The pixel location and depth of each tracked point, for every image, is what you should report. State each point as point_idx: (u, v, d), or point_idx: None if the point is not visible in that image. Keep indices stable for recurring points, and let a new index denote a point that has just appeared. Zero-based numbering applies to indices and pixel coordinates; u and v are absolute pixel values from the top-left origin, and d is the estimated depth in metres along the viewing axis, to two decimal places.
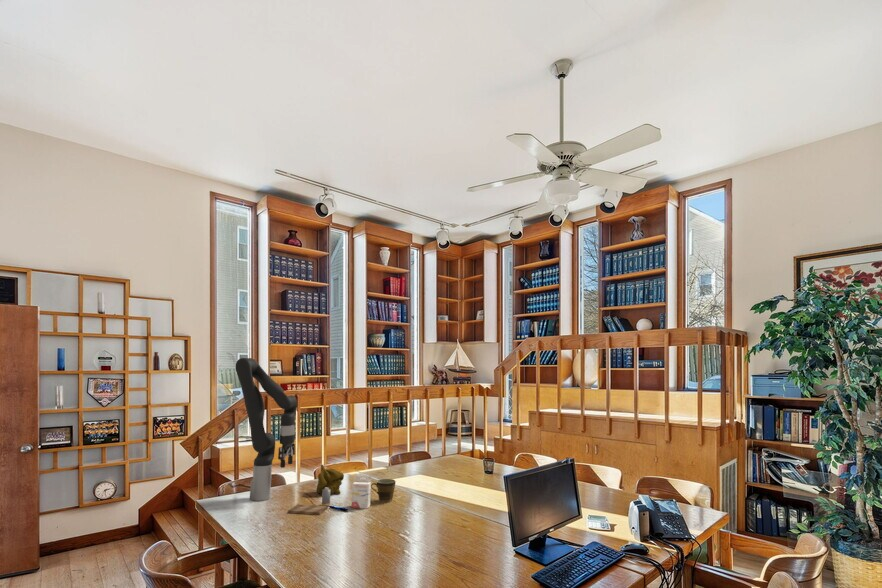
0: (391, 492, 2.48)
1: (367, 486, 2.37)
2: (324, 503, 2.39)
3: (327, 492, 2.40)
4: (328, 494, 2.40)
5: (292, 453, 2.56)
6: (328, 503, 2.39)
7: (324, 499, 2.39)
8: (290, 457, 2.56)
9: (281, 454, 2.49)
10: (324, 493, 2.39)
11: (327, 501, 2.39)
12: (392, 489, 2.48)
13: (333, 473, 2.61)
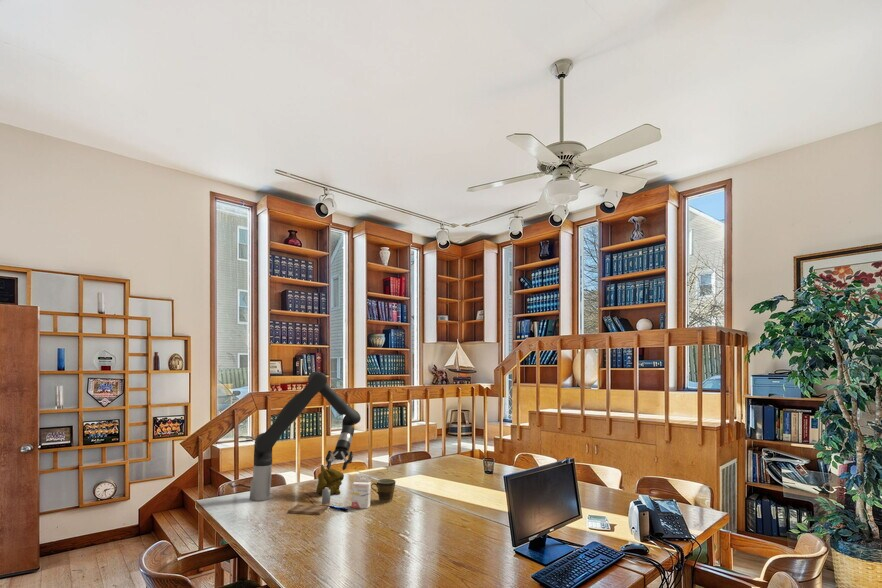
0: (391, 492, 2.48)
1: (367, 486, 2.37)
2: (324, 503, 2.39)
3: (327, 492, 2.40)
4: (328, 494, 2.40)
5: None
6: (328, 503, 2.39)
7: (324, 499, 2.39)
8: (330, 463, 2.57)
9: (345, 457, 2.57)
10: (324, 493, 2.39)
11: (327, 501, 2.39)
12: (392, 489, 2.48)
13: (333, 473, 2.61)
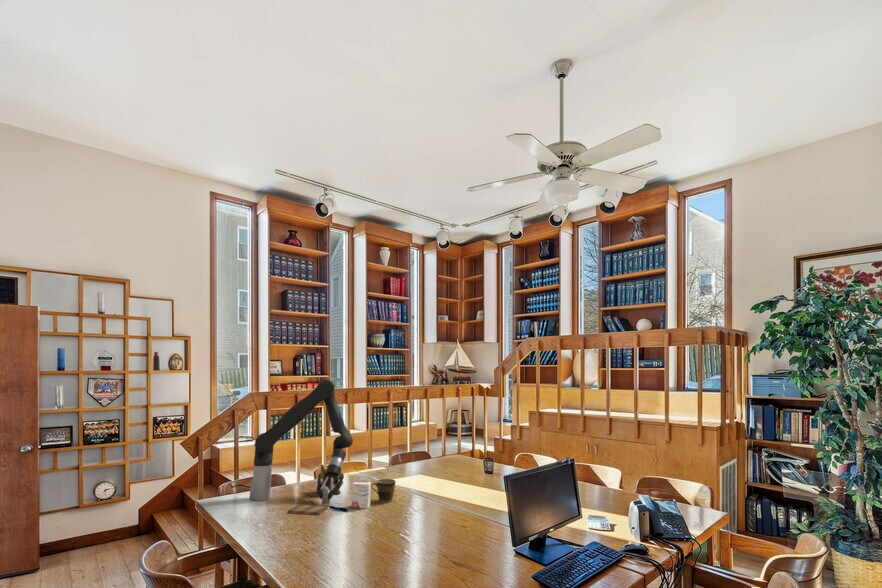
0: (391, 492, 2.48)
1: (367, 486, 2.37)
2: (324, 503, 2.39)
3: (327, 492, 2.40)
4: (328, 494, 2.40)
5: (323, 488, 2.44)
6: (328, 503, 2.39)
7: (324, 499, 2.39)
8: None
9: (333, 485, 2.43)
10: (324, 493, 2.39)
11: (327, 501, 2.39)
12: (392, 489, 2.48)
13: None
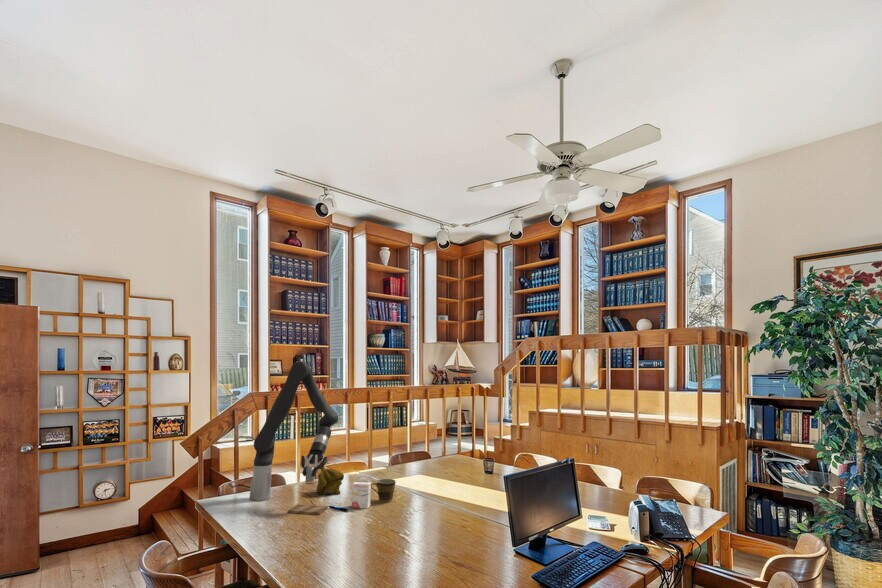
0: (391, 492, 2.48)
1: (367, 486, 2.37)
2: (308, 480, 2.31)
3: (311, 469, 2.32)
4: (312, 471, 2.33)
5: (307, 466, 2.37)
6: (312, 480, 2.32)
7: (308, 476, 2.32)
8: None
9: (317, 462, 2.36)
10: (308, 470, 2.32)
11: (311, 478, 2.32)
12: (392, 489, 2.48)
13: (333, 473, 2.61)
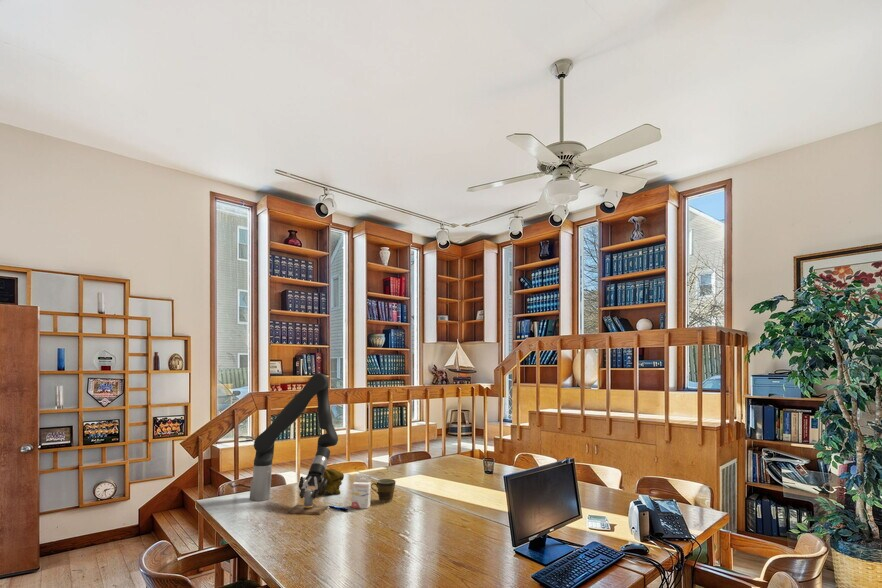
0: (391, 492, 2.48)
1: (367, 486, 2.37)
2: (306, 505, 2.30)
3: (309, 494, 2.31)
4: (310, 496, 2.31)
5: (305, 488, 2.36)
6: (310, 505, 2.30)
7: (306, 501, 2.30)
8: (304, 491, 2.34)
9: (317, 484, 2.35)
10: (306, 495, 2.31)
11: (309, 503, 2.30)
12: (392, 489, 2.48)
13: (333, 473, 2.61)
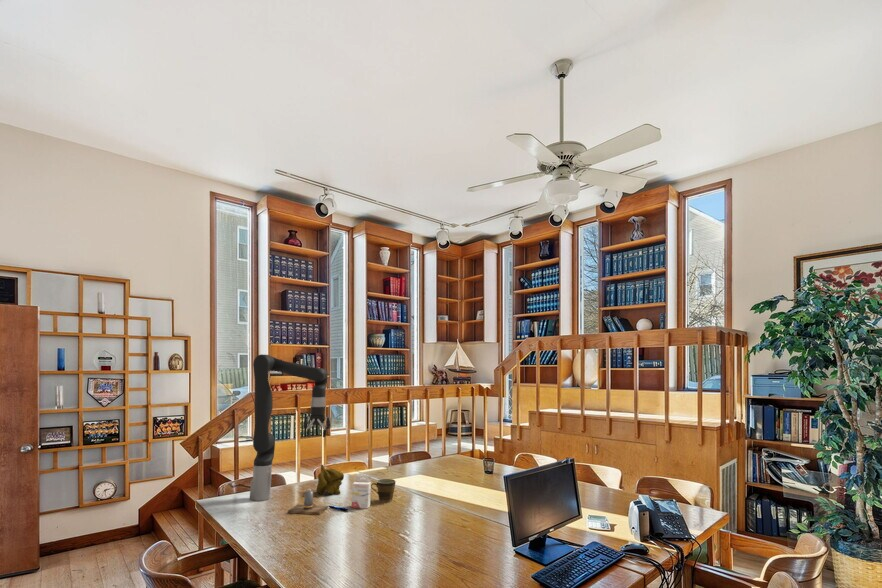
0: (391, 492, 2.48)
1: (367, 486, 2.37)
2: (306, 505, 2.30)
3: (309, 494, 2.31)
4: (310, 496, 2.31)
5: None
6: (310, 505, 2.30)
7: (306, 501, 2.30)
8: (310, 429, 2.56)
9: (323, 424, 2.54)
10: (306, 495, 2.31)
11: (309, 503, 2.30)
12: (392, 489, 2.48)
13: (333, 473, 2.61)
